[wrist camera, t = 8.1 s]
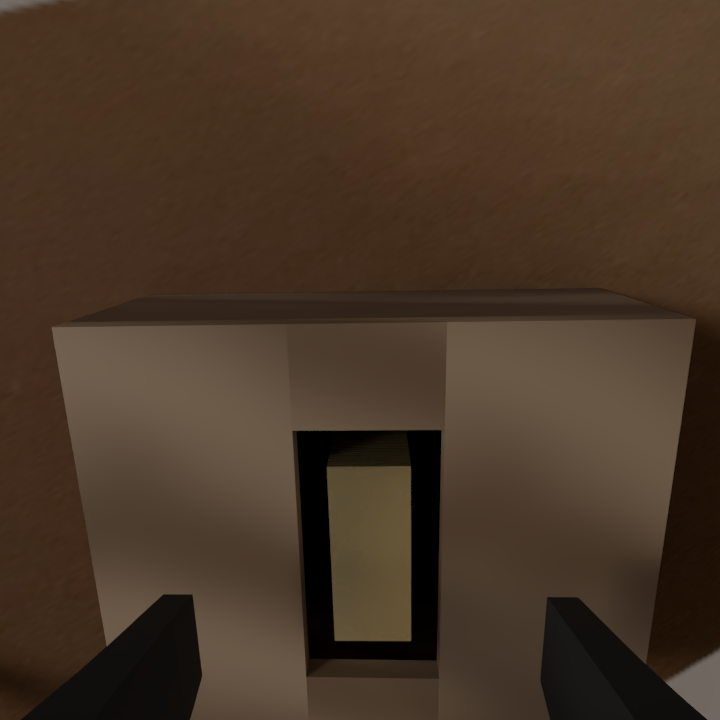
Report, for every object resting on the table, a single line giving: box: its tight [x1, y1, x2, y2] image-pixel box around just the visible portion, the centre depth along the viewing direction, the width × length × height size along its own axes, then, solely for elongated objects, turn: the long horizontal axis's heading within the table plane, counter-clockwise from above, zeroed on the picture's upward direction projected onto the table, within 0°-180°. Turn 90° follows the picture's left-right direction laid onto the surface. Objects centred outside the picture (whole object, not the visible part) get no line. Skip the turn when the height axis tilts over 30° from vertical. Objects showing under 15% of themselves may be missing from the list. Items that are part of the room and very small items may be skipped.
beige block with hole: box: [52, 288, 696, 720], centre depth 16 cm, size 12×14×5 cm
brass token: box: [327, 430, 411, 641], centre depth 16 cm, size 5×2×5 cm, turn 2°
